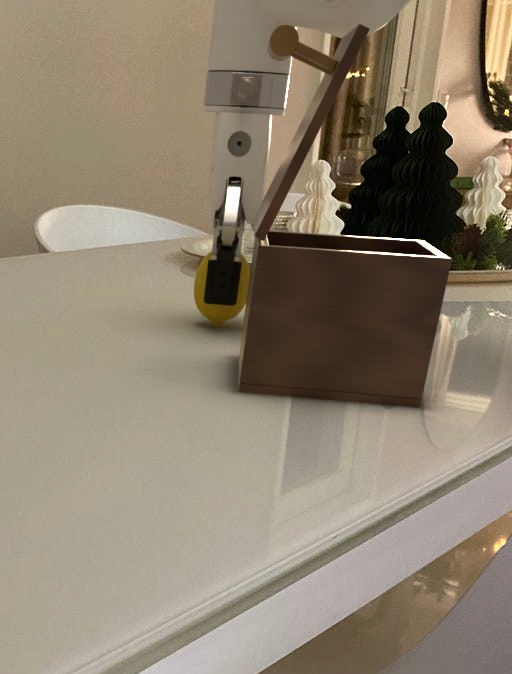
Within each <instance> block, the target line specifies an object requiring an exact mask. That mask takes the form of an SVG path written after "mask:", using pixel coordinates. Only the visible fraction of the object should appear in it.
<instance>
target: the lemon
mask: <svg viewBox="0 0 512 674" xmlns="http://www.w3.org/2000/svg"><path fill="white" fill-rule="evenodd" d="M217 253H218V250H217ZM211 254H212V250H211V251H209V253H207V254H206V255H205V256H204V257H203V258H202V260H201V261H200V263H199V266H198V268H197V270H196V274H195V276H194V277H195V278H194V284H193V298H194V303H195V306H196V308H197V310H198V312H199V313H200V314H201V315H202V316H203V317H205V318H207V319H208V320H209V321H210V323H211V325H213V327H216V328H217V327H219V328H220V327H222V326H223V325H224V324H225V323H226V322H228V321H229V320H232V319H234V318H235V317H237V316H238V315H239V314H240V313H241V312H242V311H243V309H245V307H246V300H247V293H248V285H249V278H250V270H251V269H250V266H249V262H248V261H247V259H246V257H245V256H244V255H243V254H242V253H241V254H240V262H242V266H241V274H240V282H239V289H238V297H237V303H236V304H235V305H234V306H229V305H216V304H206V303H205V302H204V293H205V284H206V276H207V267H208V260H211ZM216 260H217V258H216Z"/></svg>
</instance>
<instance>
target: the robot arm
mask: <svg viewBox="0 0 512 674" xmlns="http://www.w3.org/2000/svg"><path fill="white" fill-rule="evenodd" d="M411 1H412V0H214V3H213V11H212V12H213V13H212V22H211V33H210V43H209V51H208V60H207V61H208V62H207V70H206V71H207V72H206V78H205V87H204V96H203V106H202V112H205V113H215V115H214V116H215V117H214V123H213V125H214V126H213V133H212V143H211V154H210V166H209V178H208V193H207V198H208V199H207V201H208V202H207V213H208V215H207V216H208V217H207V219H208V220H207V222H208V225H209V226H210V227H211V228H213V239H212V248H211V251H212V254H211V260H208V267H207V276H206V284H205V293H204V302H205V303H206V304H216V305H229V306H234V305H235V304H236V303H237V297H238V289H239V282H240V274H241V266H242V262H240V254H242V253H241V252H242V245H243V237H244V233H245V222H246V224H247V225H251V231H254V228H253V220H254V217H255V215H256V213H257V211H258V209H259V207H260V205H261V203H262V201H263V199H264V196H265V187H266V181H267V174H268V167H269V166H268V165H269V159H270V158H269V157H270V149H271V139H272V127H273V126H272V123H273V116H281V117H283V116H285V112H286V105H287V98H288V90H289V84H290V75H291V69H292V63H293V57H291V56H290V57H289V58H288V59H286V60H284V61H276V60H274V59H272V58H271V57H270V55H269V53H268V42H269V39H270V36H271V34H272V32H273V31H274V30H275V29H276V28H277V27H278V26H280V25H283V24H289V25H292V26H293V27H294V28H295V29H296V30H297V28H304V29H309V30H315V31H319V32H321V33H324V34H328V35H331V36H334V37H336V38H339V39H342V38H343V37H344V36H345V35H346V34H348V33H349V32H350V31H351V30H352V29H354V28H355V27H356V26H357V25H359V24H362V25H364V26H366V27H368V28H369V29H370V30H369V32H368V34H367V36H366V37H369V36H371V35H372V34H374V33H376V32H377V31H380V29H382V28H383V27H385V26H386V25H387V24H388V23H389V22H391V21H392V19H393V18H395V17H396V16H397V15H398V14H399V13H400V12H401V11H402V10H403V9H404V8H405V7H406V6H407V5H408V4H409V3H410V2H411ZM217 250H218V253H217ZM216 258H217V260H216Z"/></svg>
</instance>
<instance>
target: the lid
mask: <svg viewBox="0 0 512 674" xmlns="http://www.w3.org/2000/svg"><path fill="white" fill-rule="evenodd" d="M369 30H370V29H369V28H368V27H366V26H364V25H362V24H359V25H357V26H356V27H355V28H354V29H352V30H351V31H350V32H349V33H348V34H346V35H345V36H344V37H343V38H341V40H340V42H339V44H338V46H337V48H336V50H335V52H334V54H333V56H330V55H328V54H325V53H323V52H321V51H319V50H318V49H315V48H314V47H311V46H309V45H307V44H305V43H303V42H301V41H300V36H299V32H298V30H297V28H296V29H295V28H294V27H293V26H292V25H289V24H283V25H280V26H278V27H277V28H276V29H275V30H274V31H273V32H272V34H271V36H270V39H269V42H268V53H269V55H270V57H271V58H272V59H274V60H276V61H284V60H286V59H288V58H289V57H290V56H291V57H292V59H295V60H297V61H299V62H301V63H303V64H305V65H308V66H309V67H312V68H314V69H315V70H317V71H320V72H322V73H324V75H323V77H322V79H321V81H320V82H319V85H318V87H317V89H316V91H315V93H314V95H313V96H312V99H311V100H310V103H309V105H308V108H307V109H306V111H305V114H304V115H303V117H302V120H301V121H300V123H299V126H298V128H297V129H296V132H295V134H294V136H293V138H292V140H291V142H290V145H289V146H288V148H287V150H286V152H285V154H284V156H283V158H282V160H281V162H280V165H279V166H278V169H277V170H276V173H275V175H274V176H273V179H272V180H271V182H270V184H269V187H268V190H267V191H266V193H265V194H264V196H263V201H262V203H261V205H260V207H259V209H258V211H257V213H256V215H255V217H254V220H253V228H254V230H253V235H254V238H255V237H256V238H258V239H260V240H263V241H264V240H265V238H266V236H267V234H268V232H269V230H271V228H272V227H273V224H274V222H275V220H276V218H277V216H278V215H279V212H280V210H281V209H282V206H283V204H284V203H285V200H286V198H287V196H288V194H289V192H290V190H291V188H292V186H293V184H294V182H295V180H296V178H297V176H298V174H299V172H300V171H301V168H302V166H303V165H304V162H305V160H306V158H307V156H308V154H309V152H310V150H311V148H312V146H313V144H314V142H315V140H316V139H317V138H316V137H317V136H318V134H319V132H320V130H321V128H322V126H323V124H324V122H325V119H326V118H327V116H328V114H329V112H330V110H331V108H332V106H333V104H334V102H335V100H336V98H337V96H338V94H339V92H340V91H341V88H342V86H343V84H344V82H345V80H346V78H347V76H348V74H349V72H350V70H351V69H352V66H353V64H354V62H355V60H356V58H357V56H358V55H359V52H360V50H361V48H362V47H363V45H364V42H365V40H366V38H367V37H368V36H367V34H368V32H369Z"/></svg>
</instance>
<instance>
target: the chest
mask: <svg viewBox="0 0 512 674" xmlns="http://www.w3.org/2000/svg"><path fill="white" fill-rule="evenodd" d="M251 256H252V257H251V264H250V269H249V270H250V278H249V285H248V293H247V300H246V304H245V307H244V316H243V323H242V331H241V337H240V338H241V339H240V345H239V346H240V347H239V353H238V370H237V372H238V374H237V376H238V381H237V391H238V393H247V394H256V395H257V394H258V395H268V396H269V395H270V396H281V397H290V398H291V397H293V398H304V399H305V398H306V399H315V400H327V401H337V402H348V403H349V402H350V403H360V404H361V403H363V404H373V405H383V406H395V407H407V408H417V409H419V408H421V403H422V399H423V396H424V391H425V387H426V381H427V376H428V372H429V368H430V363H431V358H432V354H433V349H434V345H435V340H436V335H437V330H438V327H439V322H440V317H441V313H442V307H443V304H444V299H445V293H446V290H447V285H448V279H449V275H450V270H451V266H452V262H453V258H452V257H450V256H448V255H447V254H445V253H443V252H442V251H440V250H439V249H437V248H436V247H435V246H432V245H431V244H430V243H428V242H427V241H426V240H423V239H422V240H421V239H406V238H392V237H378V236H377V237H376V236H362V235H361V236H360V235H345V234H331V233H330V234H329V233H315V232H314V233H312V232H299V231H287V230H271V229H270V230H269V232H268V234H267V236H266V238H265V240H264V241H263V240H260V239H258V238H256V237H255V236H254V242H253V249H252V255H251Z"/></svg>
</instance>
